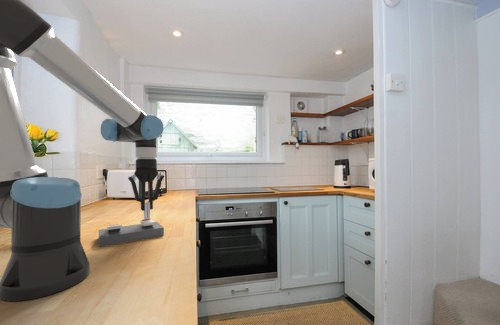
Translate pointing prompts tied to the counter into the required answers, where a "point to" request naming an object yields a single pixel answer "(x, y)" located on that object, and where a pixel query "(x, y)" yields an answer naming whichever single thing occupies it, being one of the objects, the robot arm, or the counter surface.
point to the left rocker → (114, 226)
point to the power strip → (129, 234)
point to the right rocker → (147, 222)
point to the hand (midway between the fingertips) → (147, 218)
